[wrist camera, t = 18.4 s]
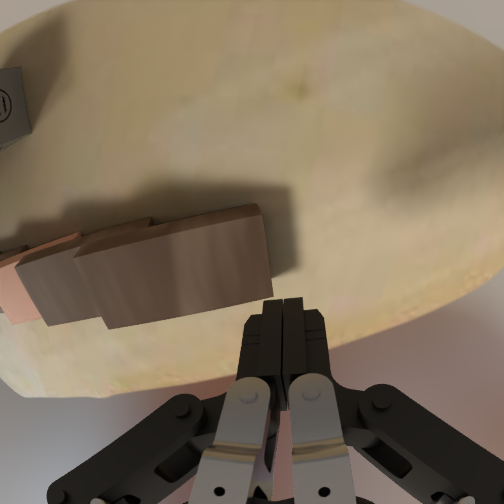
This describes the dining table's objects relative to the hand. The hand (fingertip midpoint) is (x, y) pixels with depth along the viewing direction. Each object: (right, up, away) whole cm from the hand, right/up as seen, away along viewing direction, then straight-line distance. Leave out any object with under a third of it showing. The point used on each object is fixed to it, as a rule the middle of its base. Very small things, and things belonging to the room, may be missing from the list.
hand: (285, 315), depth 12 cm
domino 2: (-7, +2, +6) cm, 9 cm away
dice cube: (-18, +12, +2) cm, 22 cm away
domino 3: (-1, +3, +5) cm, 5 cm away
